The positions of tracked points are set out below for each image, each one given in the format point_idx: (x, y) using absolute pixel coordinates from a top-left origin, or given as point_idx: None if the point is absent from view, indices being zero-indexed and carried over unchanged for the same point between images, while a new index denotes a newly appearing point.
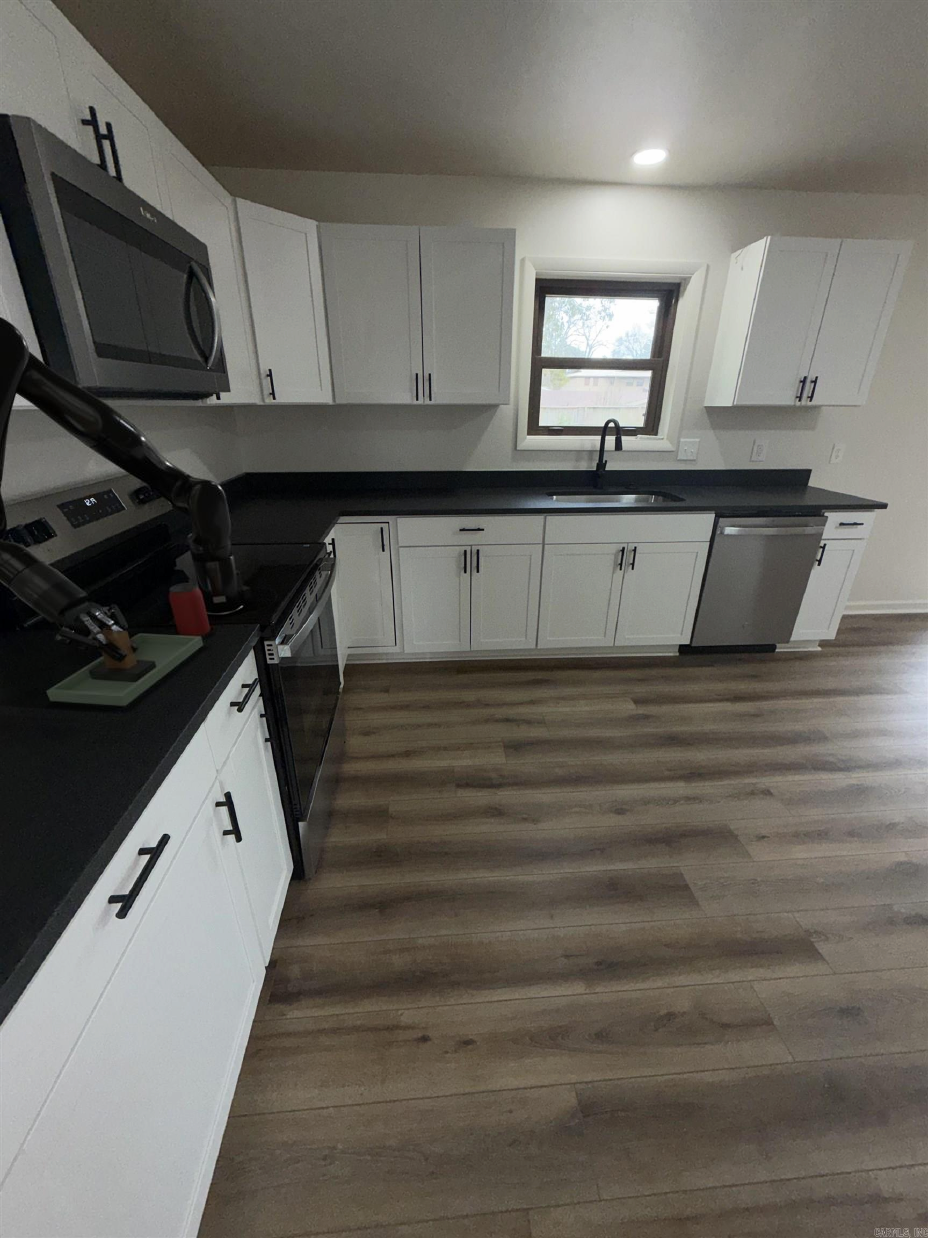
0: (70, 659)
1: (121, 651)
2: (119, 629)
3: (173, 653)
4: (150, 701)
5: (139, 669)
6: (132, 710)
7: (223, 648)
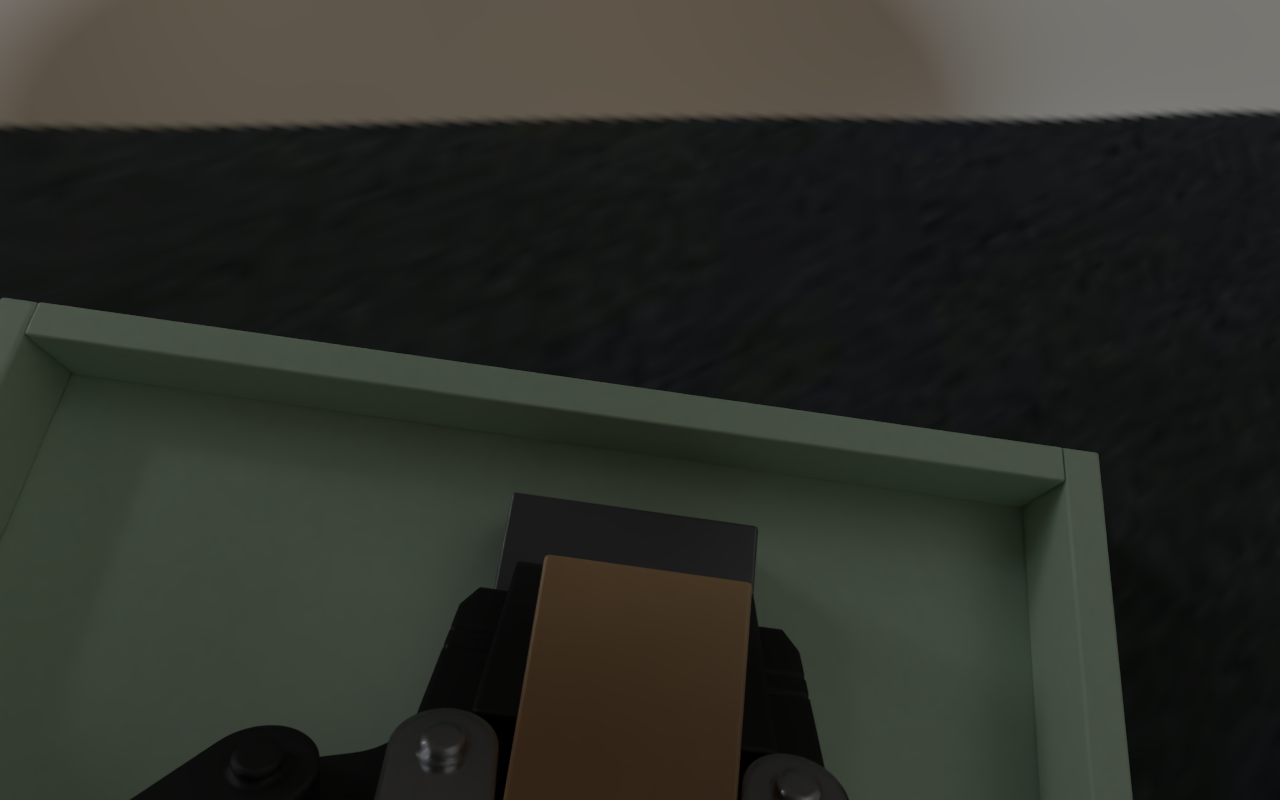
0: None
1: None
2: (410, 778)
3: (196, 527)
4: (905, 394)
5: (685, 541)
6: None
7: (111, 215)
